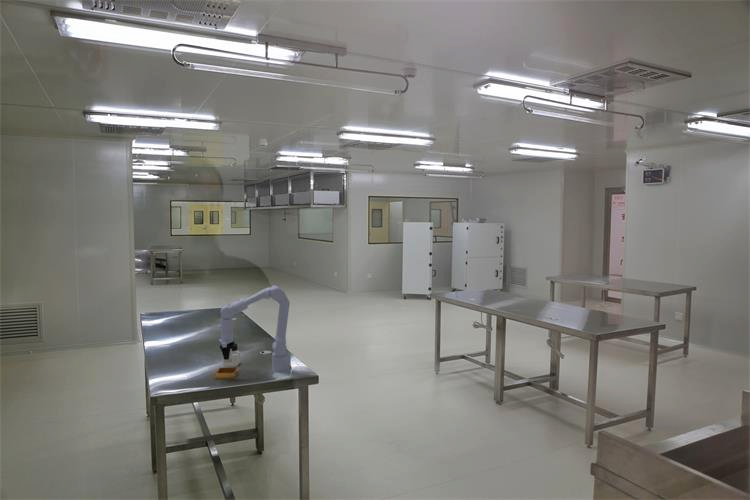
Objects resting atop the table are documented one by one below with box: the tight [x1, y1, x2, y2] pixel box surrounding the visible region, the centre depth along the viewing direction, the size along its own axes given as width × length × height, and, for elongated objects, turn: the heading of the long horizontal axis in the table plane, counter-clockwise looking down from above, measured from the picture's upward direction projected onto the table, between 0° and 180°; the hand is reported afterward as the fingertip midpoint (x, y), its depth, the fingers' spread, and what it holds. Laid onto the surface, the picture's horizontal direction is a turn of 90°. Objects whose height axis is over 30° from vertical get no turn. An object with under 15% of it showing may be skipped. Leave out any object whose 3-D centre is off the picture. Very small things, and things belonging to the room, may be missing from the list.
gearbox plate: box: [213, 366, 261, 381], centre depth 238 cm, size 20×13×4 cm, turn 96°
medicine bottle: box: [222, 342, 241, 368], centre depth 255 cm, size 7×7×12 cm
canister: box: [222, 349, 232, 363], centre depth 237 cm, size 4×4×7 cm
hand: (227, 358), depth 237 cm, fingers closed on canister, 4 cm apart
